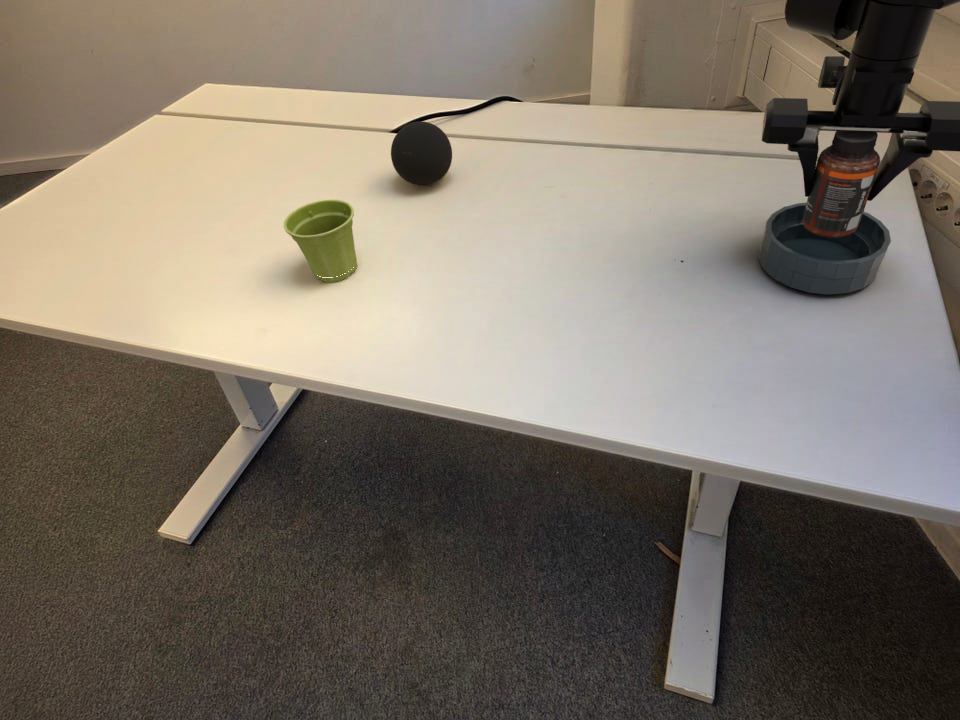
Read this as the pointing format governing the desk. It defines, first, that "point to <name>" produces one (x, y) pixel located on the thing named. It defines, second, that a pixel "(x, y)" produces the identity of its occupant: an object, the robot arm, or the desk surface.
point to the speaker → (421, 153)
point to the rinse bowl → (822, 253)
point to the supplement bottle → (842, 184)
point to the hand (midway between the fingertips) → (837, 196)
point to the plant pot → (325, 237)
